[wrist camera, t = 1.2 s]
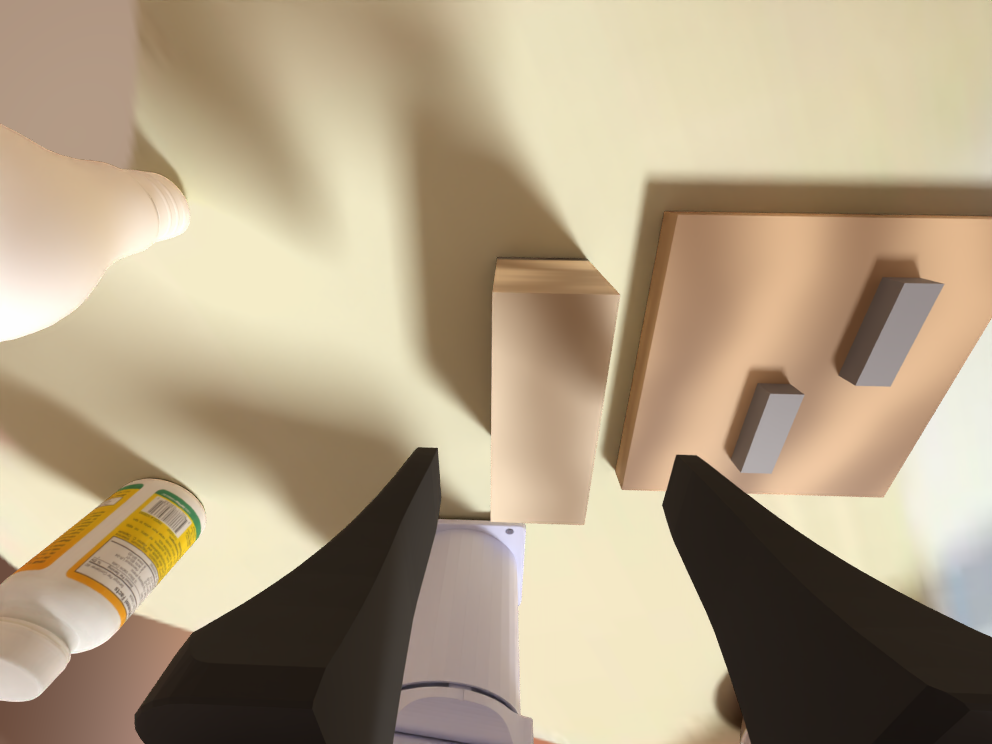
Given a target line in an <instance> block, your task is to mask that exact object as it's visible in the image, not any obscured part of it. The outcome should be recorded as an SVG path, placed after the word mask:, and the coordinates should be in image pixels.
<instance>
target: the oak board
mask: <svg viewBox="0 0 992 744" xmlns="http://www.w3.org/2000/svg"><path fill="white" fill-rule="evenodd" d="M882 277H904V278H923V279H927V280H931V281H935V282H939V283H943V284H944V286H943V288H942V290H941V292H940V294H939V295H938V297H937V299H936V301H935V303H934V305H933V307H932V309H931V311H930V313H929V314H928V316H927V318H926V320H925V322H924V324H923V326H922V328H921V330H920V332H919V333H918V335H917V337H916V339H915V341H914V343H913V345H912V347H911V349H910V351H909V352H908V354H907V356H906V358H905V360H904V362H903V364H902V366H901V368H900V370H899V371H898V373H897V375H896V377H895V379H894V381H893V383H892V385H891V387H883V386H855V385H853V384H852V383H850V382H848V381H847V380H845V379H843V378H842V377H840V376H838V375H839V373H840V370H841V368H842V366H843V364H844V361H845V359H846V357H847V355H848V353H849V350H850V348H851V346H852V344H853V342H854V339H855V337H856V335H857V333H858V331H859V328H860V326H861V324H862V322H863V319H864V317H865V315H866V313H867V311H868V308H869V306H870V304H871V302H872V300H873V297H874V295H875V293H876V291H877V288H878V286H879V284H880V282H881V280H882ZM991 318H992V216H942V215H874V214H806V213H738V212H671V211H664V216H663V221H662V226H661V232H660V237H659V242H658V247H657V253H656V258H655V263H654V269H653V274H652V279H651V284H650V290H649V295H648V300H647V306H646V311H645V316H644V321H643V327H642V332H641V337H640V343H639V348H638V353H637V358H636V364H635V369H634V374H633V380H632V385H631V390H630V396H629V401H628V406H627V411H626V417H625V422H624V427H623V433H622V438H621V443H620V448H619V454H618V459H617V464H616V470H615V472H616V475H617V478H618V481H619V483H620V486H621V489H622V490H647V491H666V490H667V486H668V482H669V479H670V475H671V471H672V468H673V464H674V460H675V457H676V455H697V456H699V457H700V458H701V459H703V460H704V461H705V462H707V463H708V464H709V465H711V466H712V467H713V468H715V469H716V470H717V471H718V472H720V473H721V474H722V475H723V476H725V477H726V478H727V479H729V480H730V481H731V482H732V483H734V484H735V485H736V486H737V487H739V488H740V489H741V490H743V491H744V492H745V493H749V494H784V495H818V496H852V497H884V495H885V494H886V492H887V490H888V489H889V487H890V485H891V484H892V482H893V480H894V479H895V477H896V475H897V474H898V472H899V471H900V469H901V467H902V466H903V464H904V462H905V461H906V459H907V457H908V456H909V454H910V452H911V451H912V449H913V447H914V446H915V444H916V442H917V441H918V439H919V437H920V436H921V434H922V432H923V431H924V429H925V427H926V426H927V424H928V423H929V421H930V419H931V418H932V416H933V414H934V413H935V411H936V409H937V408H938V406H939V404H940V403H941V401H942V399H943V398H944V396H945V394H946V393H947V391H948V389H949V388H950V386H951V384H952V383H953V381H954V379H955V378H956V376H957V375H958V373H959V371H960V370H961V368H962V366H963V365H964V363H965V361H966V360H967V358H968V356H969V355H970V353H971V351H972V350H973V348H974V346H975V345H976V343H977V341H978V340H979V338H980V336H981V335H982V333H983V331H984V330H985V328H986V327H987V325H988V323H989V322H990V320H991ZM757 383H771V384H791V385H792V386H794V387H795V388H796V389H798V390H799V391H800V392H802V393H803V394H804V397H803V400H802V402H801V405H800V407H799V409H798V412H797V414H796V416H795V419H794V421H793V424H792V426H791V428H790V431H789V433H788V436H787V438H786V440H785V443H784V445H783V447H782V450H781V452H780V455H779V457H778V459H777V462H776V464H775V467H774V469H773V471H772V474H765V473H741V472H740V471H739V470H738V469H737V467H736V466H735V465H734V463H733V462H732V461H731V457H732V454H733V451H734V449H735V446H736V443H737V440H738V437H739V434H740V432H741V429H742V426H743V423H744V420H745V417H746V415H747V412H748V409H749V406H750V403H751V400H752V398H753V395H754V392H755V389H756V386H757Z"/></svg>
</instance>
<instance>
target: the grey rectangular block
mask: <svg viewBox="0 0 992 744" xmlns="http://www.w3.org/2000/svg"><path fill="white" fill-rule="evenodd" d="M943 286H944V284H943V283H939V282H935V281H931V280H927V279H923V278H904V277H882V280H881V282H880V284H879V286H878V288H877V291H876V293H875V295H874V297H873V300H872V302H871V304H870V306H869V308H868V311H867V313H866V315H865V317H864V319H863V322H862V324H861V326H860V328H859V331H858V333H857V335H856V337H855V339H854V342H853V344H852V346H851V348H850V350H849V353H848V355H847V357H846V359H845V361H844V364H843V366H842V368H841V370H840V373H839V375H838V376H840V377H842V378H843V379H845V380H847V381H848V382H850V383H852V384H853V385H855V386H883V387H891V385H892V383H893V381H894V379H895V377H896V375H897V373H898V371H899V370H900V368H901V366H902V364H903V362H904V360H905V358H906V356H907V354H908V352H909V351H910V349H911V347H912V345H913V343H914V341H915V339H916V337H917V335H918V333H919V332H920V330H921V328H922V326H923V324H924V322H925V320H926V318H927V316H928V314H929V313H930V311H931V309H932V307H933V305H934V303H935V301H936V299H937V297H938V295H939V294H940V292H941V290H942V288H943Z"/></svg>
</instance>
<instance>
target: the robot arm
mask: <svg viewBox="0 0 992 744" xmlns="http://www.w3.org/2000/svg"><path fill="white" fill-rule="evenodd" d="M440 503H441V488H440V474H439V459H438V448H422V447H418V448H417V449H416V450H414V452H413V453H412V454H411V456H410V457H409V458H408V460H407V461H406V462H405V463H404V465H403V466H402V467H401V468H400V470H399V471H398V472H397V473H396V475H395V476H394V477H393V478H392V479H391V480H390V482H389V483H388V484H387V485H386V486H385V487H384V488H383V490H382V491H381V492H380V493H379V494H378V495H377V496H376V497H375V499H374V500H373V501H372V502H371V503H370V504H369V505H368V506H367V507H366V508H365V509H364V510H363V511H362V512H361V513H360V514H359V515H358V516H357V517H356V518H355V519H354V520H353V521H352V522H351V523H350V524H349V525H348V526H347V527H345V528H344V529H343V530H342V531H341V532H340V533H339V534H338V535H337V536H335V537H334V538H333V539H332V540H331V541H330V542H328V543H327V544H326V545H325V546H324V547H322V548H321V549H320V550H319V551H317V552H316V553H315V554H314V555H312V556H311V557H310V558H309V559H307V560H306V561H305V562H303V563H302V564H301V565H300V566H298V567H297V568H296V569H294V570H293V571H291V572H290V573H289V574H287V575H286V576H284V577H283V578H281V579H280V580H279V581H277V582H276V583H274V584H273V585H271V586H270V587H268V588H267V589H265V590H264V591H262V592H261V593H259V594H257V595H256V596H254V597H253V598H251V599H250V600H248V601H246V602H245V603H243V604H242V605H240V606H238V607H236V608H235V609H233V610H231V611H230V612H228V613H226V614H224V615H223V616H221V617H219V618H218V619H216V620H214V621H213V622H211V623H209V624H207V625H206V626H204V627H202V628H200V629H199V630H197V631H195V632H193V633H192V634H191V635H190V637H189V638H188V639H187V641H186V642H185V643H184V645H183V646H182V647H181V648H180V650H179V651H178V652H177V654H176V655H175V656H174V658H173V659H172V661H171V662H170V664H169V666H168V667H167V668H166V670H165V671H164V673H163V674H162V676H161V677H160V679H159V680H158V681H157V683H156V684H155V686H154V687H153V689H152V690H151V692H150V693H149V695H148V696H147V697H146V699H145V701H144V702H143V703H142V705H141V706H140V708H139V709H138V711H137V712H136V714H135V729H136V731H137V733H138V735H139V737H140V738H141V740H142V741H143V742H144V743H145V744H534V743H533V720H532V719H531V718H529V717H525V716H522V715H521V713H520V669H519V624H518V606H519V605H520V604H521V598H522V582H523V567H524V551H525V535H526V527H525V525H524V523H507V522H491V521H486V520H454V519H438V517H439V510H440ZM662 506H663V509H664V513H665V516H666V520H667V523H668V526H669V529H670V532H671V535H672V538H673V540H674V543H675V545H676V547H677V549H678V552H679V554H680V556H681V558H682V560H683V563H684V565H685V567H686V569H687V571H688V574H689V576H690V578H691V580H692V582H693V584H694V587H695V589H696V591H697V593H698V595H699V597H700V600H701V602H702V604H703V606H704V608H705V610H706V613H707V615H708V617H709V620H710V622H711V625H712V627H713V629H714V632H715V635H716V638H717V641H718V643H719V646H720V649H721V652H722V655H723V658H724V660H725V663H726V666H727V669H728V672H729V675H730V678H731V681H732V684H733V687H734V690H735V693H736V697H737V700H738V703H739V706H740V709H741V712H742V715H743V719H744V722H745V725H746V729H747V732H748V735H749V739H750V742H751V744H992V637H990V636H988V635H985V634H983V633H981V632H979V631H976V630H974V629H972V628H970V627H968V626H966V625H964V624H962V623H960V622H958V621H956V620H954V619H952V618H949V617H947V616H945V615H943V614H941V613H939V612H937V611H935V610H933V609H931V608H929V607H927V606H925V605H923V604H921V603H919V602H917V601H915V600H913V599H912V598H910V597H908V596H906V595H904V594H902V593H900V592H898V591H896V590H895V589H893V588H891V587H889V586H887V585H885V584H884V583H882V582H880V581H878V580H876V579H875V578H873V577H871V576H869V575H867V574H866V573H864V572H862V571H860V570H859V569H857V568H855V567H854V566H852V565H850V564H848V563H847V562H845V561H843V560H842V559H840V558H839V557H837V556H835V555H834V554H832V553H831V552H829V551H827V550H826V549H824V548H823V547H821V546H819V545H818V544H816V543H815V542H813V541H812V540H810V539H809V538H807V537H806V536H804V535H803V534H801V533H800V532H798V531H797V530H795V529H794V528H793V527H791V526H790V525H788V524H787V523H785V522H784V521H783V520H781V519H780V518H778V517H777V516H776V515H774V514H773V513H772V512H770V511H769V510H767V509H766V508H765V507H763V506H762V505H761V504H759V503H758V502H757V501H755V500H754V499H753V498H752V497H750V496H749V495H748V494H746V493H745V492H744V491H743V490H741V489H740V488H739V487H737V486H736V485H735V484H734V483H732V482H731V481H730V480H729V479H727V478H726V477H725V476H723V475H722V474H721V473H720V472H718V471H717V470H716V469H715V468H713V467H712V466H711V465H709V464H708V463H707V462H705V461H704V460H703V459H701V458H700V457H699V456H697V455H676V457H675V460H674V464H673V468H672V471H671V475H670V479H669V482H668V486H667V490H666V493H665V497H664V501H663V504H662ZM509 528H510V529H509Z"/></svg>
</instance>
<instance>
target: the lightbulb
mask: <svg viewBox="0 0 992 744" xmlns="http://www.w3.org/2000/svg"><path fill="white" fill-rule="evenodd" d="M189 222H190V209H189V205H188V202H187V200H186V198H185V197H184V195H183V193H182V192H181V191H180V190H179V188H178V187H177V186H176V185H175V184H174V183H173V182H171V181H170V180H169V179H167V178H166V177H164V176H162V175H160V174H157V173H153V172H145V171H139V170H129V169H120V168H118V167H115V166H113V165H111V164H108V163H104V162H100V161H91V160H82V159H76V158H72V157H68V156H63V155H60V154H58V153H55V152H53V151H50V150H48V149H45V148H43V147H42V146H40V145H38V144H37V143H35V142H33V141H32V140H30V139H28V138H26V137H25V136H23V135H21V134H20V133H18V132H16V131H14V130H12V129H10V128H8V127H6V126H4V125H2V124H0V341H7V340H13V339H17V338H20V337H23V336H26V335H29V334H32V333H35V332H37V331H40V330H42V329H45V328H47V327H49V326H51V325H53V324H55V323H56V322H58V321H59V320H61V319H63V318H64V317H66V316H67V315H69V314H70V313H72V312H73V311H74V310H75V309H76V308H78V307H79V306H80V305H81V304H82V303H83V302H84V300H85V299H86V298H87V297H88V296H89V294H90V293H91V292H92V291H93V289H94V288H95V287H96V286H97V284H98V282H99V281H100V279H101V278H102V276H103V274H104V273H105V271H106V269H107V268H108V267H109V266H111V265H112V264H113V263H114V262H116V261H118V260H120V259H122V258H124V257H126V256H129V255H133V254H136V253H139V252H142V251H144V250H146V249H147V248H149V247H150V246H151V245H152V244H153V243H155V242H158V241H163V240H165V239H170V238H173V237H175V236H178V235H180V234H182V233H183V232H184V231H185V230H186V229H187V228H188V225H189Z"/></svg>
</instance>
